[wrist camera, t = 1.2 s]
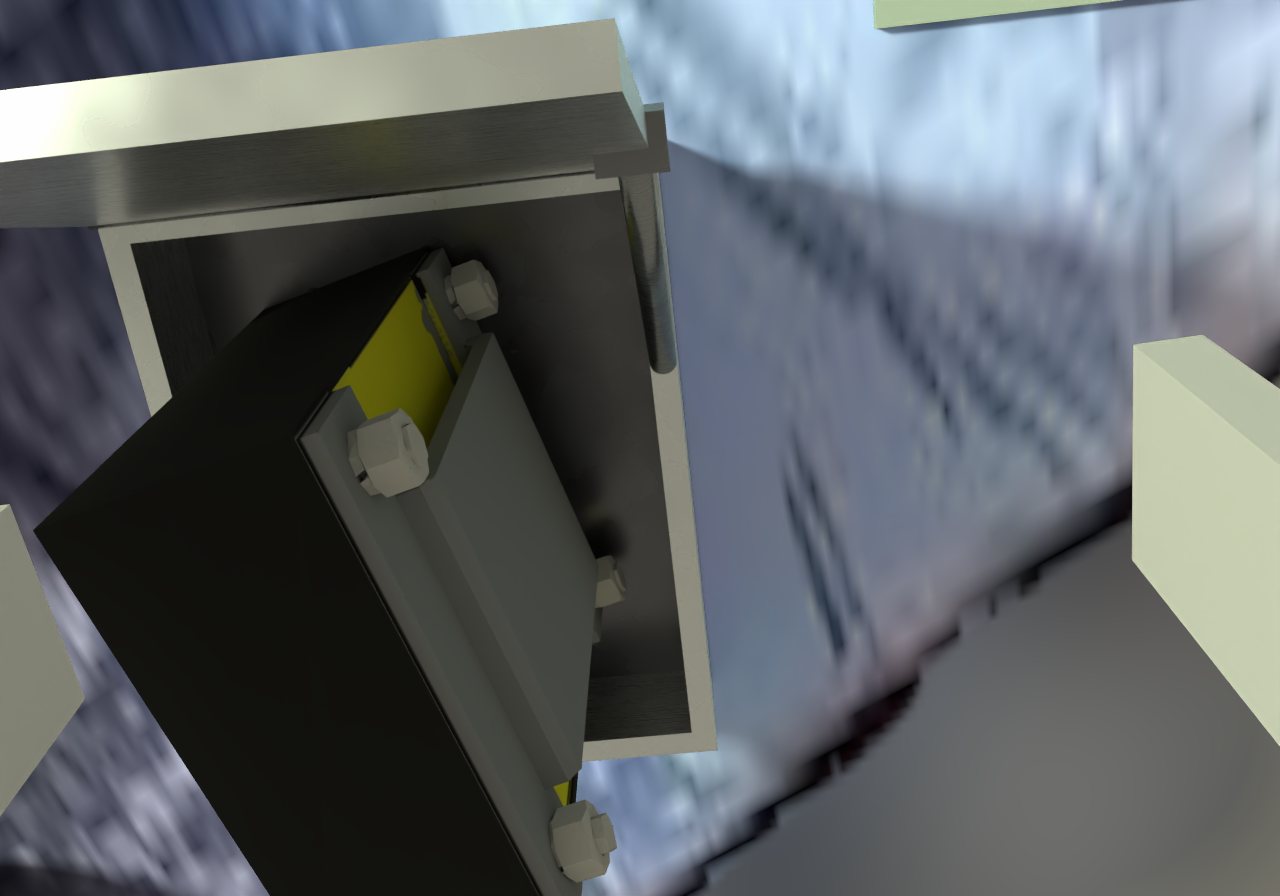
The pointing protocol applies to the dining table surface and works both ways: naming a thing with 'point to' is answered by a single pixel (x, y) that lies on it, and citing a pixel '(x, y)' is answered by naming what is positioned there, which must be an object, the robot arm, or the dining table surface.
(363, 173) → the case
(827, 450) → the dining table surface
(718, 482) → the dining table surface
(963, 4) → the mat
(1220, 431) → the robot arm
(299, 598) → the electrical component
